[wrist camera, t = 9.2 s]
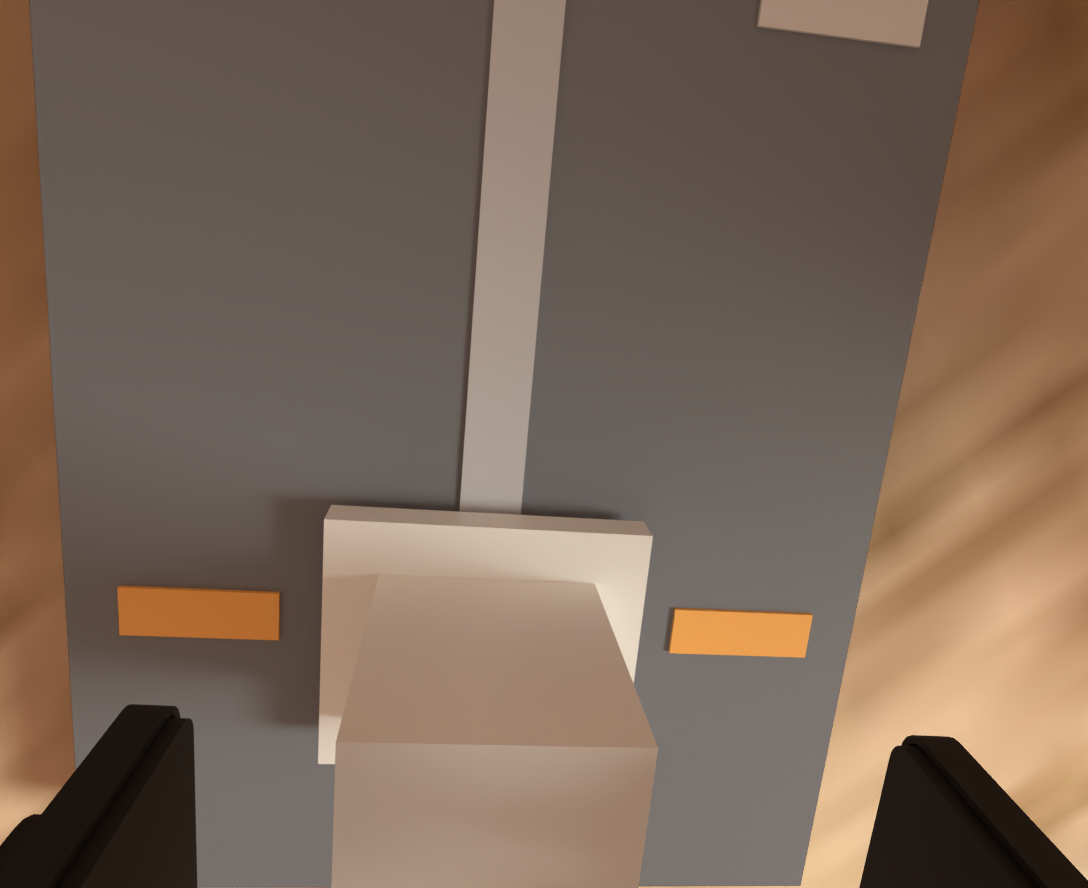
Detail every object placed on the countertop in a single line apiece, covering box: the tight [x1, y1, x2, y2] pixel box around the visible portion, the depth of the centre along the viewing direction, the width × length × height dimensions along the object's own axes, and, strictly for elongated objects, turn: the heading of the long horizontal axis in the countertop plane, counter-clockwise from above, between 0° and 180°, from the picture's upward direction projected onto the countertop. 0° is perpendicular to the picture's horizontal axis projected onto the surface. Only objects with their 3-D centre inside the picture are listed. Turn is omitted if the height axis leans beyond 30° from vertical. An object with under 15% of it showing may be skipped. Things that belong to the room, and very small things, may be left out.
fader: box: [318, 505, 658, 888], centre depth 13 cm, size 6×5×6 cm
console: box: [29, 0, 979, 888], centre depth 16 cm, size 16×25×3 cm, turn 175°
